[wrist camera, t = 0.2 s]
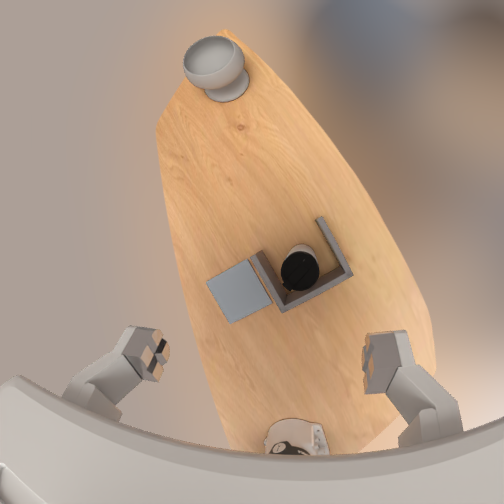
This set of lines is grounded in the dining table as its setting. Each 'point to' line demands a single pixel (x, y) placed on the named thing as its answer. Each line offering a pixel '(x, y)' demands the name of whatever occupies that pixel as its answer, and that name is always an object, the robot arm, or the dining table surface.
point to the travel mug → (300, 268)
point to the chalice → (217, 68)
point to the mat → (239, 291)
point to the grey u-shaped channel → (319, 287)
